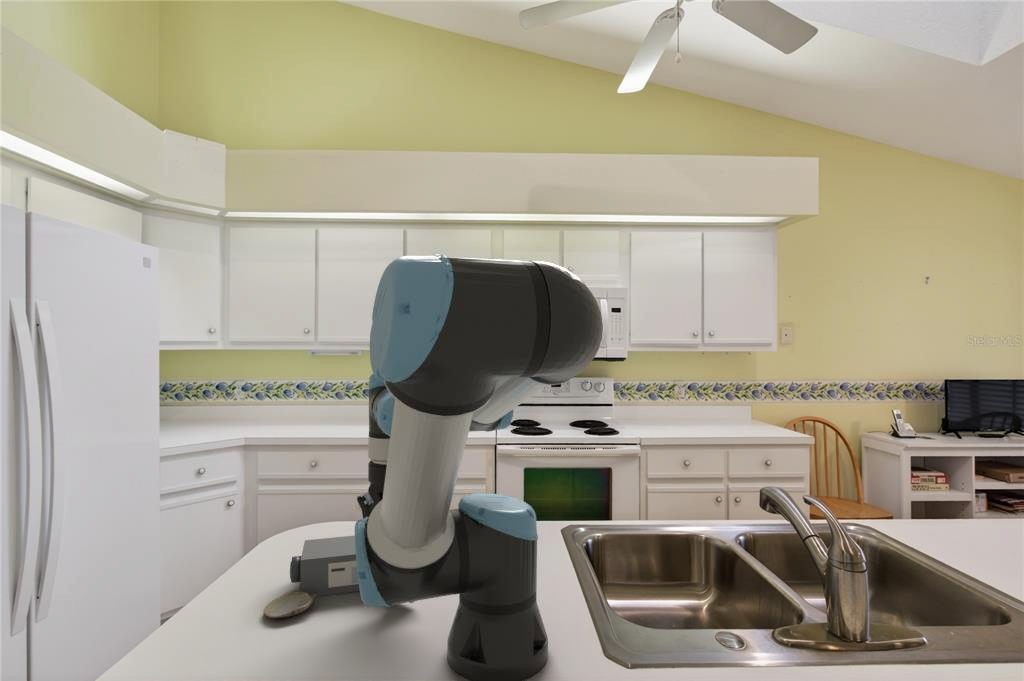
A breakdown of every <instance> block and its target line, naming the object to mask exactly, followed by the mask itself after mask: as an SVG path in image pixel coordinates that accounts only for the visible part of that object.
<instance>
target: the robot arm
mask: <svg viewBox="0 0 1024 681" xmlns="http://www.w3.org/2000/svg"><path fill="white" fill-rule="evenodd" d="M372 308H373V309H372V313H371V314H372V315H371V319H372V320H371V321H372V323H371V328H370V334H369V362H370V368H371V371H372V373H371V374H370V376H369V381H368V389H367V394H368V443H367V444H368V448H367V450H368V452H367V454H368V455H367V456H368V459H369V460H370V461H369V462H368V467H367V468H368V477H367V478H368V482H369V483H370V484H369V486H368V489H367V492H365V493H364V494H361V495H358V496H357V497H356V501H357V503H358V505H359V507H360V510H361V514H362V518H361V519H358V520H356V522H355V524H354V536H355V549H356V562H357V569H358V580H359V589H360V591H359V594H360V598H361V601H362V604H364V605H365V606H367V607H369V608H370V607H371V608H375V607H387V608H390V607H393V606H394V605H400V604H406V603H409V602H413V601H415V602H417V601H418V602H419V601H422V600H423V601H425V600H429V599H435V598H440V597H445V596H446V597H447V596H452V595H459V596H458V597H459V598H458V600H459V601H458V605H457V609H456V611H455V615H454V618H453V621H452V624H451V628H450V630H449V634H448V636H447V641H446V642H447V645H446V646H447V647H446V648H447V650H446V651H447V652H446V654H447V656H446V658H447V661H448V663H449V665H450V667H451V668H452V669H453V670H454V671H455V672H456V673H458V675H460V676H462V677H464V678H466V679H468V680H471V681H523V680H526V679H528V678H530V677H532V676H534V675H536V674H537V673H538V672H540V670H542V669H543V667H544V666H545V665H546V663H547V661H548V658H549V638H548V634H547V631H546V628H545V624H544V622H543V618H542V615H541V612H540V608H539V606H538V602H537V586H538V585H537V584H538V583H537V578H538V577H537V576H538V575H537V573H538V572H537V568H538V539H539V534H538V530H537V527H538V526H537V514H536V512H535V510H534V508H533V507H532V505H530V504H528V503H527V502H526V501H523V500H521V499H519V498H516V497H512V496H509V495H504V494H499V493H486V492H475V493H470V494H468V495H467V494H465V495H463V496H462V497H460V500H459V502H458V504H457V506H458V508H456V509H455V508H453V509H450V508H451V504H452V501H453V500H452V499H453V497H454V491H455V488H456V484H457V480H458V476H459V472H460V469H461V463H462V461H463V456H464V452H465V448H466V445H467V440H468V436H469V433H470V432H471V433H472V432H486V433H487V432H493V431H499V430H504V429H508V428H509V427H510V425H511V423H512V420H513V418H514V412H515V411H514V409H515V408H517V407H518V406H519V405H521V404H523V403H524V402H525V401H527V400H528V399H529V398H532V397H533V396H534V395H536V394H537V393H538V392H540V390H542V389H544V388H545V387H546V386H556V385H562V384H565V383H566V382H568V381H570V380H571V379H573V378H574V377H575V376H577V375H579V374H580V373H582V372H583V371H584V370H585V369H586V368H587V367H589V365H590V364H591V363H592V361H593V360H594V359H595V357H596V356H597V354H598V352H599V350H600V347H601V344H602V340H603V333H604V332H603V329H604V328H603V327H604V325H603V324H604V323H603V318H602V312H601V310H600V309H601V308H600V306H599V303H598V301H597V299H596V297H595V296H594V294H593V292H592V291H591V289H590V288H589V287H588V286H587V285H586V283H585V282H584V281H582V279H580V278H579V277H578V276H577V275H575V274H574V273H572V272H571V271H569V270H568V269H567V268H564V267H562V266H559V265H557V264H554V263H552V262H551V263H550V262H547V261H540V260H539V261H538V260H536V261H535V260H512V259H510V260H509V259H493V258H492V259H491V258H490V259H488V258H469V257H450V256H449V257H447V256H446V255H444V254H440V253H433V254H429V255H403V256H400V257H397V258H396V259H394V260H393V261H391V262H390V263H389V264H388V265H387V266H386V268H385V269H384V270H383V272H382V275H381V277H380V280H379V283H378V286H377V290H376V293H375V298H374V301H373V307H372ZM413 603H414V602H413Z"/></svg>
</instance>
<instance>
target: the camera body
mask: <svg viewBox="0 0 1024 681" xmlns="http://www.w3.org/2000/svg"><path fill="white" fill-rule="evenodd" d="M289 578H290V582H291V583H290V584H294V583H295V584H296V583H300V591H301V592H306V593H309V594H315V593H316V596H315V597H316V598H317V597H323V596H331V595H340V594H346V593H355V592H356V593H357V592H360V589H359V580H358V569H357V562H356V549H355V535H348V536H347V535H345V536H338V537H337V536H336V537H335V536H334V537H323V538H317V539H315V538H314V539H305V540H304V542H303V548H302V553H301V555H297V556H296V555H295V556H291V561H290V563H289ZM315 597H314V598H315Z"/></svg>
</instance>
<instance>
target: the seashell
mask: <svg viewBox="0 0 1024 681" xmlns="http://www.w3.org/2000/svg"><path fill="white" fill-rule="evenodd" d="M315 596H316V593H315V594H309V593H306V592H301V590H300V591H299V590H298V591H293V592H289V593H286V594H283V595H279V597H277V598H275V599H273V600H272V601H270V602H268V603H267V604H266V606H265V607H264V608H263V615H264V616H265V617H266V618H273V619H280V618H281V619H282V618H289V617H293V616H295V615H298V614H301V613H303V612H305V611H306V610H308V608H310V606H312V604H313V602H314V599H315Z"/></svg>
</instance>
